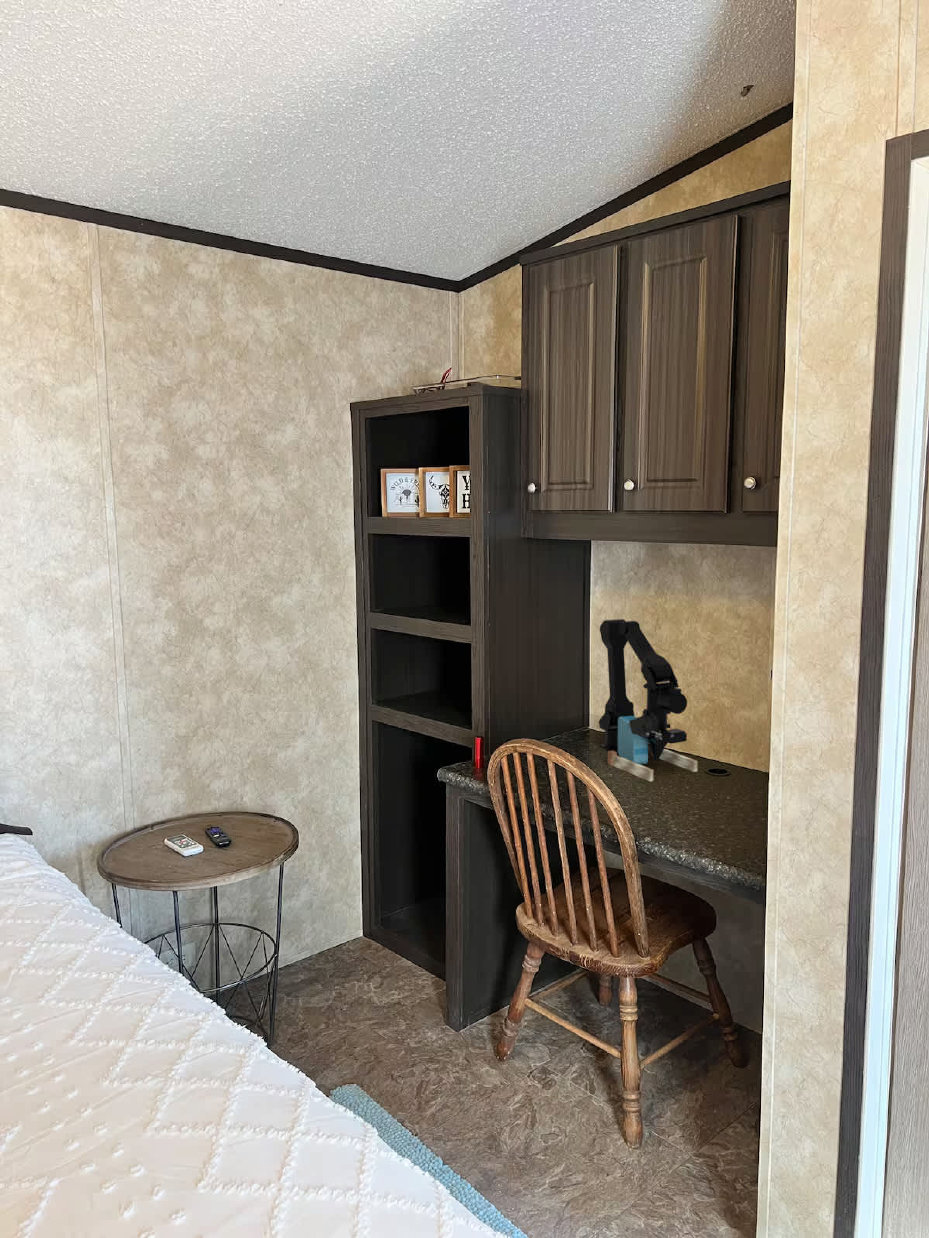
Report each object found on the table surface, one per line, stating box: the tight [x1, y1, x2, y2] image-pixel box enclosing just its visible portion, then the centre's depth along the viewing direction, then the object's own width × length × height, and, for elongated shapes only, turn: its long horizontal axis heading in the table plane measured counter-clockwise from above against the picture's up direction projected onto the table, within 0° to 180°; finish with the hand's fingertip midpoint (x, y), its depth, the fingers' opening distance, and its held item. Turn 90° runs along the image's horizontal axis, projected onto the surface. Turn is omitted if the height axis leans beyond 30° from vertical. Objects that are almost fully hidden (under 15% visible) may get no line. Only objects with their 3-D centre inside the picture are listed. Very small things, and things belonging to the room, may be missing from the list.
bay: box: [607, 748, 699, 782], centre depth 264 cm, size 18×18×4 cm
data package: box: [617, 715, 649, 765], centre depth 271 cm, size 12×4×12 cm, turn 13°
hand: (656, 759), depth 263 cm, fingers closed
